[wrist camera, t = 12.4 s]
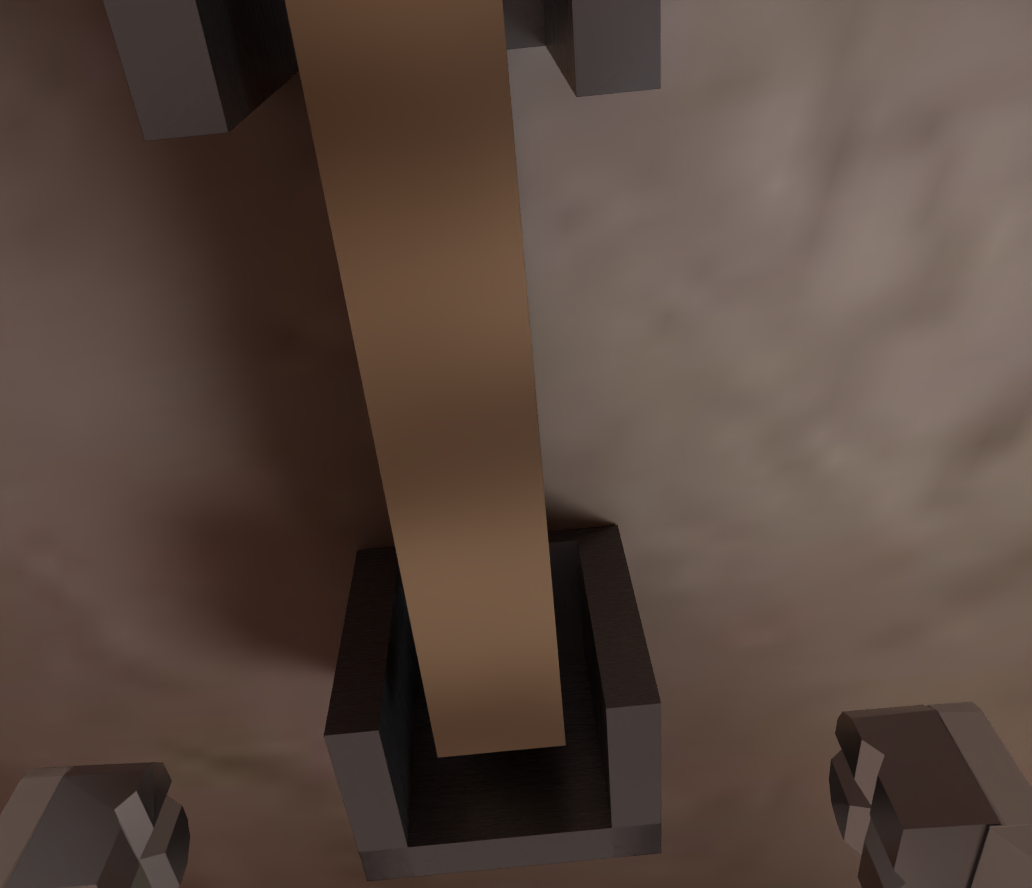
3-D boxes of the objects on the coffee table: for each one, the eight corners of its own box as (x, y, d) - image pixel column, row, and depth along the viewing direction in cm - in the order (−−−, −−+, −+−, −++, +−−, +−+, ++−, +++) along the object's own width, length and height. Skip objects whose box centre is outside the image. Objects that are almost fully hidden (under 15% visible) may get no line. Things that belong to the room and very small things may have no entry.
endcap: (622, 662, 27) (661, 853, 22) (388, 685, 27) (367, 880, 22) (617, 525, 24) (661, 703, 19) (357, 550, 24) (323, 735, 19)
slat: (547, 589, 25) (565, 745, 20) (444, 599, 25) (437, 757, 20) (491, -48, 17) (499, -36, 12) (335, -32, 17) (282, -14, 12)
